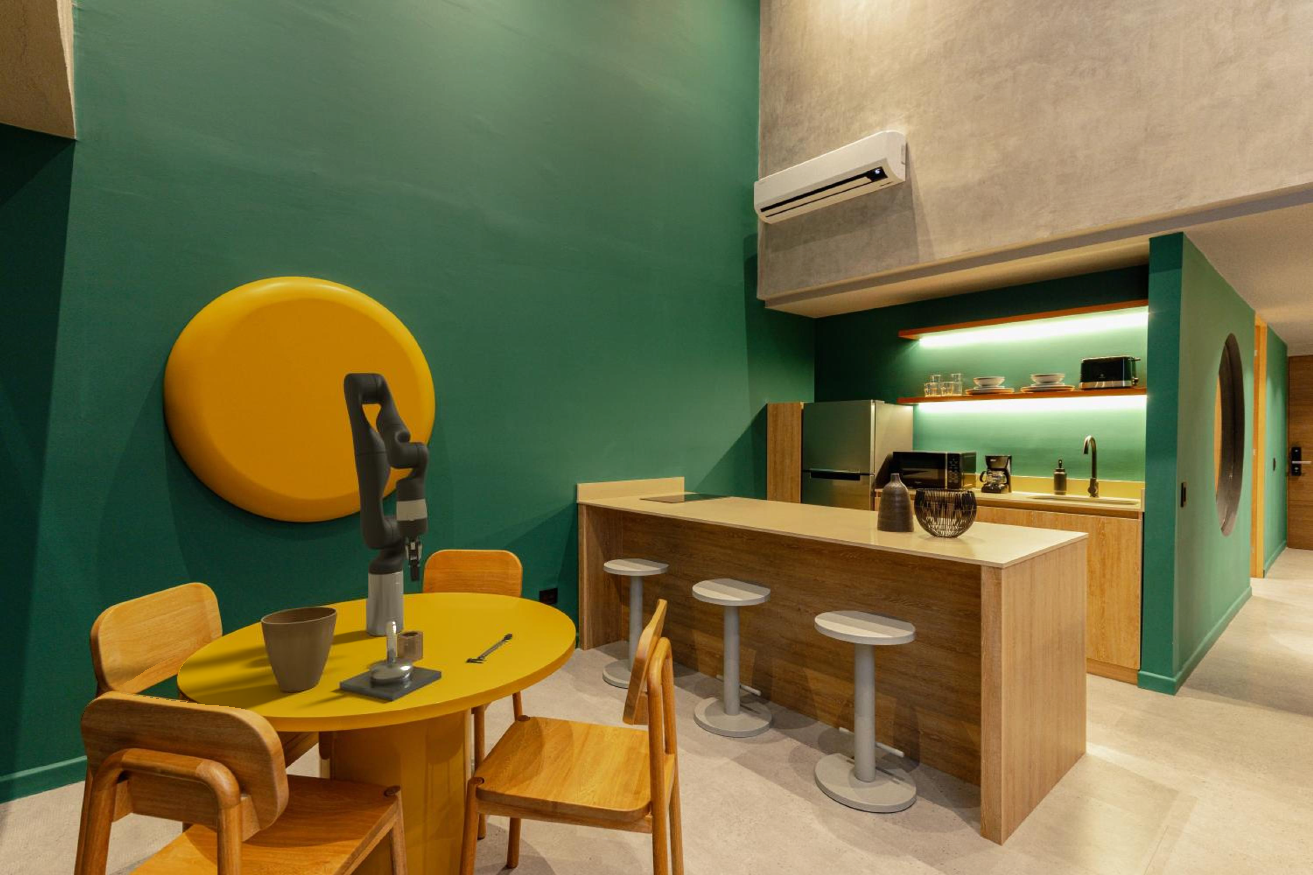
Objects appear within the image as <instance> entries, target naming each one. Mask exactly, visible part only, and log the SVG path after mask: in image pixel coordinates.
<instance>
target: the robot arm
mask: <svg viewBox="0 0 1313 875" xmlns="http://www.w3.org/2000/svg"><path fill="white" fill-rule="evenodd" d="M343 395H344V399H345V404H346V408H347V409H346V410H347V414H348V419H349V422H350V429H351V437H352V445H353V446H352V447H353V455H354V462H355V463H354V464H355V471H356V475H357V483H358V492H359V507H360V508H359V509H360V512H359V514H360V534H361V538H362V542H363V543H364V545H365V547H366V548H368V549H369V550H370V551H378V550H379V553H378V554H377V556H376V557H375V558H374V559H372V560H371V561H370V562H369V564H368V567H367V571H368V572H367V573H368V583H367V584H368V585H367V586H368V598H366V600H365V608H366V609H365V615H366V616H365V618H366V619H365V623H366V624H365V626H366V628H365V630H366V631H365V632H366V633H368V634H369V635H370V636H381V637H382V636H386V625H387V623H388V622H389V621H394V622H395V623H396V634H399V633H402V632H403V630H404V564H405V561H406V559H407V560H408V564H407V565H408V568H409V571H410V572H409V573H410V582H411V583H414V582H419V581H420V580H421V578H420V575H421V561H420V560H421V559H422V548H423V546H422V540H420V536H423V535H426V534H427V533H428V532H429V528H428V526H429V525H428V512H427V510H428V509H427V503H426V495H425V480H426V475H427V470H428V465H429V463H430V462H429V461H430V451H429V448H428V446H427V445H426V443H425V442H422V441H411V439H412V438H411V437H412V436H411V432H410V430H409V429H408V427H407V426H406V423H405V422H404V421H403V419H402V417H401V415H400V414H399V411H398V409H397V406H396V403H395V400H394V398H393V397H394V396H393V395H392V392H391V389H390V386H389V384H388V382H387V380H386V378H385V377H384V376H383V375H382V374H381V373H376V372H350V373H347V374H345V376H344V378H343ZM365 405H379V406H380V409H379V411H378V414H377V416H376V419H375V427H376V429H375V428H374V427H373V426H372V424H371V423H370V422H369V420H368V418H367V416H366V414H365V410H364V408H363V406H365ZM392 468H393V469H394V470H407V469H412V470H411V472H410V474H409V475H408V476H406V477H403V478H400V479H398V480H396V482H395V492H396V493H395V495H396V496H395V497H396V508H395V509H396V510H395V511H396V512H395V514H387V515H384V510H383V509H384V508H383V496H384V492H385V490H386V486H387V484H388V481H389V479H390V476H391V473H392V472H391V471H392ZM407 540H408V541H407Z"/></svg>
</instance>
